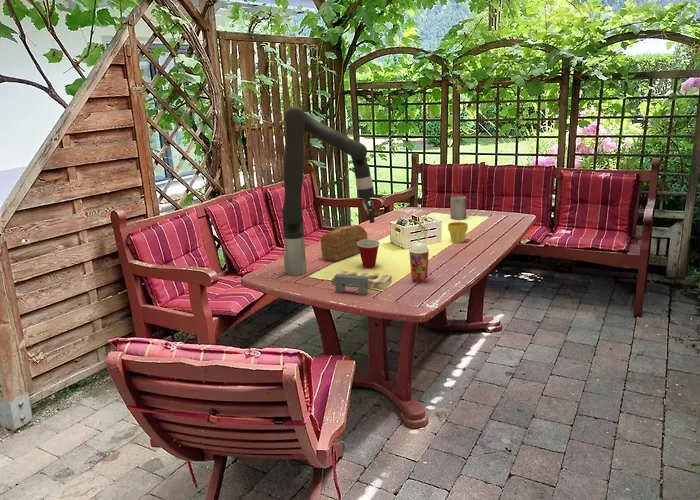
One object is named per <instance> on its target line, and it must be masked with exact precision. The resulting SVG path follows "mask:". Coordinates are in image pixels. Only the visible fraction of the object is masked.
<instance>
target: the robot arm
mask: <svg viewBox="0 0 700 500" xmlns="http://www.w3.org/2000/svg"><path fill="white" fill-rule="evenodd" d="M284 124H285V134H286V135H285V148H284V152H283V161H282V162H283V165H282V173H283V174H282V175H283V176H282V177H283V186H284V187H283V188H284V198H283V199H284V200H283V206H282V209H281V216H282V230H283V241H284V242H283V244H284V253H283V266H284V267H283V268H284V274H286V273H288V274H287V275H289V274H290V275H289V276H301V275H304V274H306V273H307V263H306V262H307V261H306V260H307V259H306V247H305V246H306V245H305V230H304V219H303V214H304V213H303V206H302V205H303V204H302V190H303V183H304V176H305V174H304V173H305V150H304V149H305V147H304V134H305V132H307V133H309V134H311V135H313V136H315V137H316V138H318V139H319V140H321V141H322V142H324V143H326V144H328V146H329V145H330V146H331V147H334V148H335V149H337V150H340V151H342V152H343V153H345V154H346V155H348V156H350V158H351V162H352V165H353V171H354V172H353V173H354V178H355V185H356V186H355V187H356V191H357V196H358V198H359V199H362V205H363V208H364V211H365V215H366V219H367V220H369V223H370V224H373V223H375V222H376V221H375V217H374V215H375V211H374V205H373V200H372V199H371V198H372V197H374V196H375V190H374V189H375V188H374V183H373V179H372V175H371V170H370V166H369V164H368V160H367V155H368V149H367V147H366V146H365V145H364V144H363V143H361V142H358V141H356V140H355V139H352V138H350V137H349V136H347V135H346V134H345V133H343V132H341V131H339V130H337V129H335V128H333V127H330V126H329V125H326V124H324V123H322V122H320V121H318V120H316V119H314V117H311V116H310V115H309V114H308V113H306V112H305V111H304V110H303V108H301V107H300V106H299V107H298V106H291V107H289V108H287V110H286V111H285V113H284ZM303 273H304V274H303ZM300 274H301V275H300Z"/></svg>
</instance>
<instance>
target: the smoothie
mask: <svg viewBox="0 0 700 500" xmlns="http://www.w3.org/2000/svg"><path fill="white" fill-rule="evenodd" d="M420 237H421V236H420V235H418V236H417V240H418V241H416V242H414V243H412V245H411V247H409V248H410V249H409V261H410V274H411V275H410V276H411V278H412V281H413V282H416V283H424V282H426V281H427V279H428V270H429V255H430V254H429V253H430V252H429V251H430V249H429V248H428V246H427V245H426V244H425V242H421V239H420Z"/></svg>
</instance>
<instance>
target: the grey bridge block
mask: <svg viewBox="0 0 700 500" xmlns="http://www.w3.org/2000/svg"><path fill="white" fill-rule="evenodd" d="M333 276H334V283H336V285H335V292H336V293H340V294H342V293H343V294H344V292H346V286H345V284H352V285H358V287H357V294H358V295H362V296H363V295H364V296H366V295H367V294H368V288H367V284H368V277H367V276H356V275H344V274H337V273H336V274H335V275H333Z"/></svg>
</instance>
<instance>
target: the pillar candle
mask: <svg viewBox="0 0 700 500" xmlns="http://www.w3.org/2000/svg"><path fill="white" fill-rule="evenodd" d="M450 219H451V220H453V221H457V220H458V221H463V220H466V219H467V196H465V195H452V196H450Z"/></svg>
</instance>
